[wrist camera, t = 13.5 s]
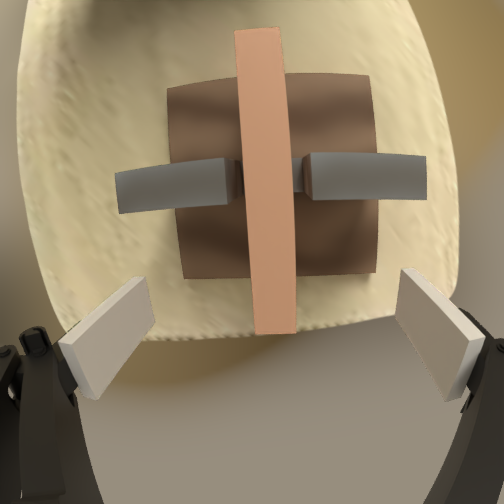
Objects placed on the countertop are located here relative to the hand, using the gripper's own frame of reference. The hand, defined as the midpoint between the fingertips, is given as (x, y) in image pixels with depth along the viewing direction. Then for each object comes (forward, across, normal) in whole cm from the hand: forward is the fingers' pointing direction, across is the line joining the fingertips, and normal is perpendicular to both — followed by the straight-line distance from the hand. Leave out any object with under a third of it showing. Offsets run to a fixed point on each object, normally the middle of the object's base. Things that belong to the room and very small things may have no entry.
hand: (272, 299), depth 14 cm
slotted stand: (+16, 0, +6) cm, 17 cm away
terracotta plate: (+14, 0, +5) cm, 15 cm away
